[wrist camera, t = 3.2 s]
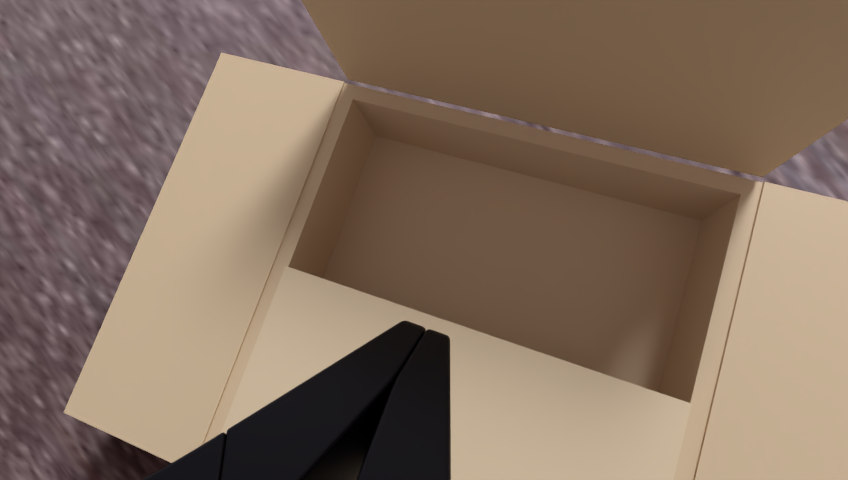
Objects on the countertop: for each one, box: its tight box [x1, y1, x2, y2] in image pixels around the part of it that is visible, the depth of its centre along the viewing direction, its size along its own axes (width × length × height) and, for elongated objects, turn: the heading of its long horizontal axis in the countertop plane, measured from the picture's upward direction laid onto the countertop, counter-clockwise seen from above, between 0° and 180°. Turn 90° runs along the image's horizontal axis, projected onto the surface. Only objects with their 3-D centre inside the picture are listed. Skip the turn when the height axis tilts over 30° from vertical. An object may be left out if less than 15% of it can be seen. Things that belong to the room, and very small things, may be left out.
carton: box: [64, 53, 848, 480], centre depth 19 cm, size 16×28×4 cm, turn 71°
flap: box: [302, 0, 848, 177], centre depth 15 cm, size 8×16×1 cm
